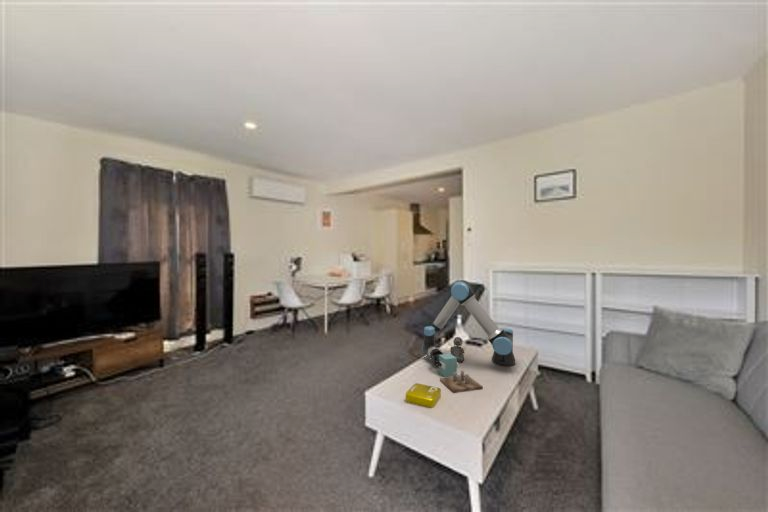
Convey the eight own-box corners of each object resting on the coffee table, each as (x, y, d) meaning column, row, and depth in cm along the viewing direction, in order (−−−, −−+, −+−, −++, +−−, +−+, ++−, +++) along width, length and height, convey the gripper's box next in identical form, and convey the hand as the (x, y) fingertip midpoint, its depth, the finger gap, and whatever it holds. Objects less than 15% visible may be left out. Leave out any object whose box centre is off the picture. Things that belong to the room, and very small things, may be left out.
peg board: (467, 377, 191) (467, 366, 190) (482, 388, 175) (482, 377, 175) (440, 380, 186) (440, 369, 186) (453, 393, 170) (453, 381, 170)
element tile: (415, 390, 174) (415, 381, 174) (441, 396, 168) (441, 387, 167) (404, 402, 161) (404, 393, 161) (432, 409, 154) (432, 399, 154)
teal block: (450, 370, 201) (450, 353, 200) (456, 375, 193) (456, 357, 193) (438, 372, 199) (438, 354, 198) (444, 377, 191) (444, 359, 191)
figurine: (466, 358, 223) (466, 337, 222) (461, 363, 213) (461, 341, 212) (454, 356, 227) (454, 335, 227) (448, 361, 217) (448, 339, 217)
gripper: (449, 358, 216) (466, 370, 194) (420, 361, 210) (435, 374, 188) (449, 347, 216) (466, 358, 194) (420, 349, 210) (435, 361, 188)
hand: (451, 366), depth 191 cm, fingers closed on teal block, 8 cm apart
